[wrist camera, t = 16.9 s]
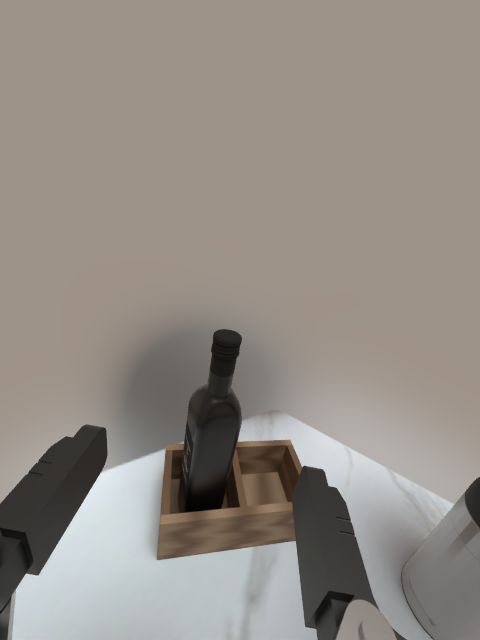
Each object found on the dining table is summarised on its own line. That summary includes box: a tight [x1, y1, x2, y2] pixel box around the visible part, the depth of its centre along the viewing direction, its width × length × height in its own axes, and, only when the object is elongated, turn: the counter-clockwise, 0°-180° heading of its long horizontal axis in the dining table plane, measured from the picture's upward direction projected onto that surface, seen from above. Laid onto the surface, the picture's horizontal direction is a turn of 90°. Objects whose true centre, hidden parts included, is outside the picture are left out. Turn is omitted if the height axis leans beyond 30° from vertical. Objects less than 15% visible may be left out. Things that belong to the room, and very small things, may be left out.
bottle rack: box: [157, 440, 302, 560], centre depth 39 cm, size 21×11×8 cm, turn 101°
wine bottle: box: [178, 329, 242, 513], centre depth 33 cm, size 6×6×30 cm
